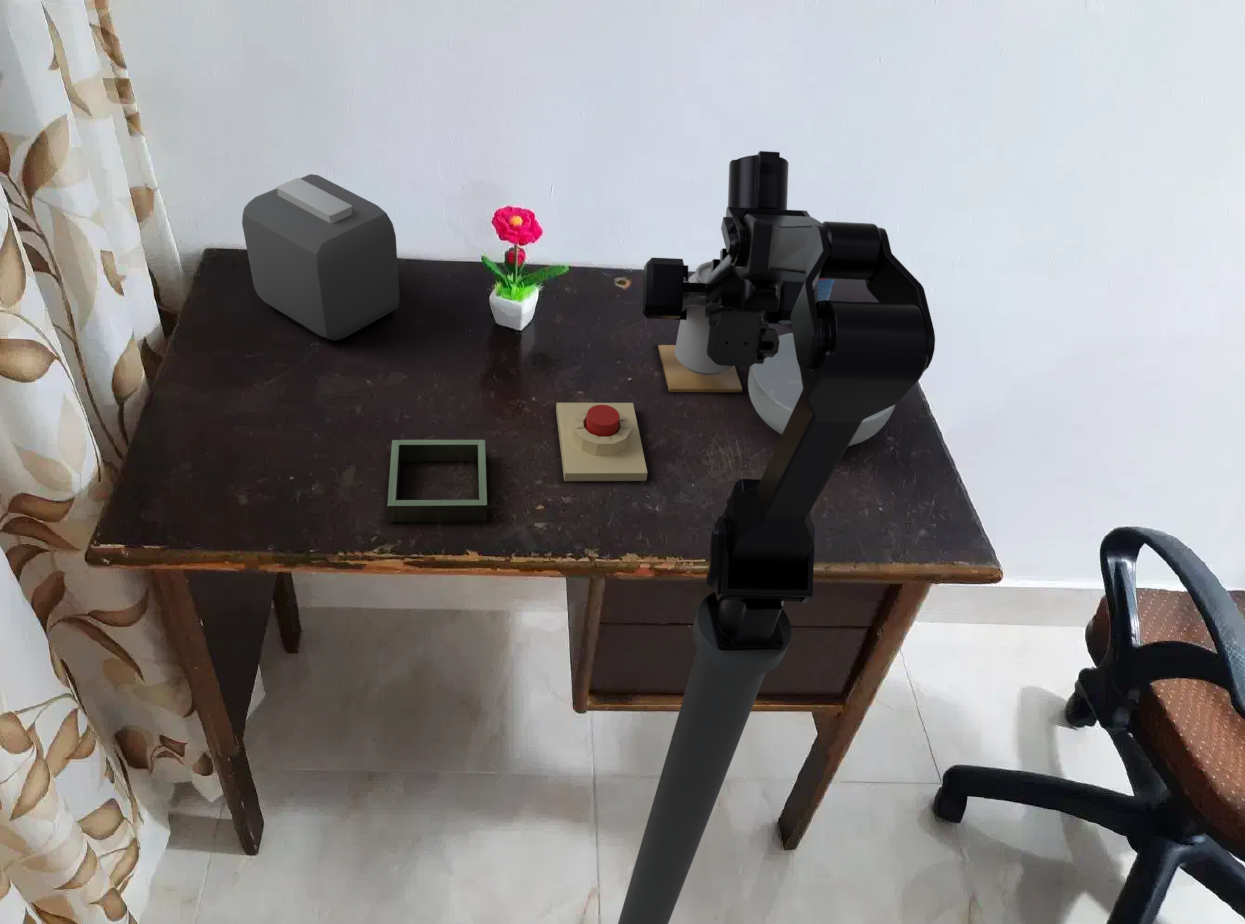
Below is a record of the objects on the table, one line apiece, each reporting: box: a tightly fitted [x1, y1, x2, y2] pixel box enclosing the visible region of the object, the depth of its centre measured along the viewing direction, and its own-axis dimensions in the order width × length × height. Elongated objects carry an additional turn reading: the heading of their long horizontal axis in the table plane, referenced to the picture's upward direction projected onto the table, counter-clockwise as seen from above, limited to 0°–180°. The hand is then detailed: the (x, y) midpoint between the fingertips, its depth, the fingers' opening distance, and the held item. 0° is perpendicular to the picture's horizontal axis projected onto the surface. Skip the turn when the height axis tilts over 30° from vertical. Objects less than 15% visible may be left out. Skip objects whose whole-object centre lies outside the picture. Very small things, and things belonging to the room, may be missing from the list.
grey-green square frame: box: [387, 439, 488, 523], centre depth 100 cm, size 10×10×2 cm
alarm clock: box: [241, 173, 401, 342], centre depth 116 cm, size 16×11×16 cm
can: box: [675, 261, 733, 376], centre depth 111 cm, size 8×8×12 cm
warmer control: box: [555, 402, 648, 482], centre depth 106 cm, size 12×9×3 cm
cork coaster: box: [657, 344, 743, 393], centre depth 118 cm, size 9×9×1 cm
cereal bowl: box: [747, 332, 896, 447], centre depth 110 cm, size 17×17×7 cm
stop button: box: [586, 405, 620, 437], centre depth 105 cm, size 4×4×2 cm
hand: (712, 308), depth 111 cm, fingers closed on can, 7 cm apart
